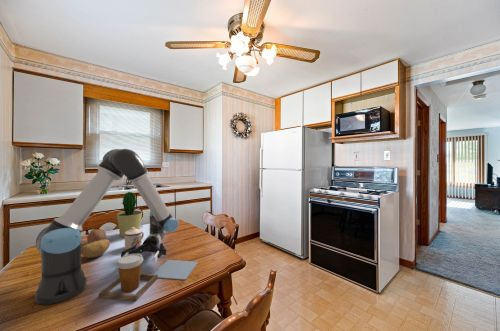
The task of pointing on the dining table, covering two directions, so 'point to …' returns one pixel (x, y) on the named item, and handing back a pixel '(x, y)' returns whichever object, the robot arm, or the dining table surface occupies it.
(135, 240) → the teacup with lid
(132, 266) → the disposable coffee cup
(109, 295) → the walnut collar
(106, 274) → the dining table surface
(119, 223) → the potted cactus
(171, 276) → the slate mat
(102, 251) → the potato
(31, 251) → the dining table surface
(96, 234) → the onion
